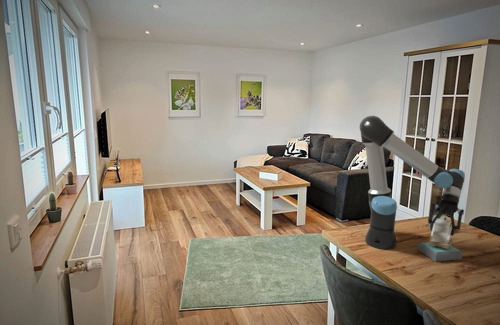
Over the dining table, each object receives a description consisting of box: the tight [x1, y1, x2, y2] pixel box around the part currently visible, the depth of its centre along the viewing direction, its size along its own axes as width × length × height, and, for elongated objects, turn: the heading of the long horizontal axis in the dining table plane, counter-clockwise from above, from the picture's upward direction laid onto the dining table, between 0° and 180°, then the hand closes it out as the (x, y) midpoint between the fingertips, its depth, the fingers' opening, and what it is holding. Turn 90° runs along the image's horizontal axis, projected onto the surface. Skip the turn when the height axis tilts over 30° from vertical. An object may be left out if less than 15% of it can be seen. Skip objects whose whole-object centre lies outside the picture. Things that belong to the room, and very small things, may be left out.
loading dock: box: [417, 241, 464, 262], centre depth 157 cm, size 14×12×4 cm
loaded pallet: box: [429, 218, 453, 249], centre depth 155 cm, size 8×8×11 cm
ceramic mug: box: [427, 214, 447, 230], centre depth 188 cm, size 11×8×8 cm
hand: (439, 238), depth 153 cm, fingers closed on loaded pallet, 6 cm apart
